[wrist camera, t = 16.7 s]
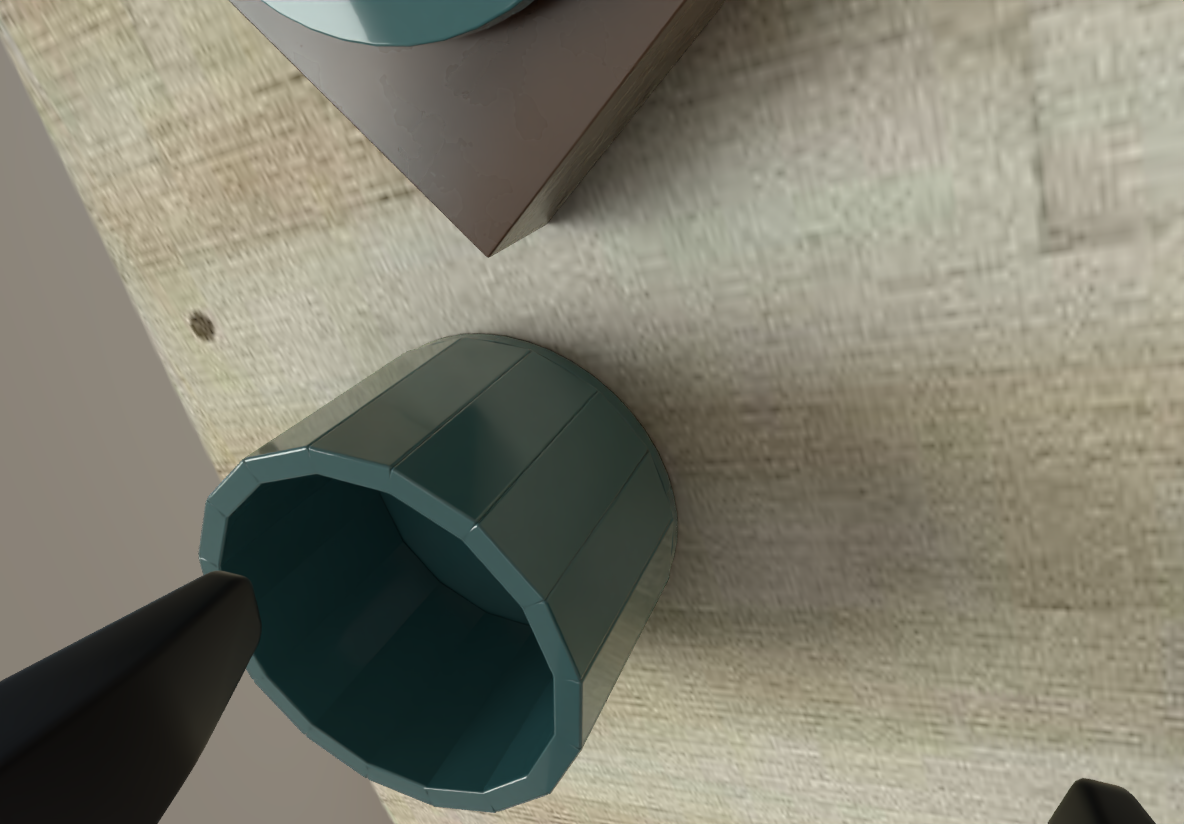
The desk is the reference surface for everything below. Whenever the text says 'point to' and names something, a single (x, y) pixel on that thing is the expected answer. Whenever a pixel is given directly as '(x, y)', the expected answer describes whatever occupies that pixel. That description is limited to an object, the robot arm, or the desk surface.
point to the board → (499, 100)
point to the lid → (397, 19)
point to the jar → (451, 566)
